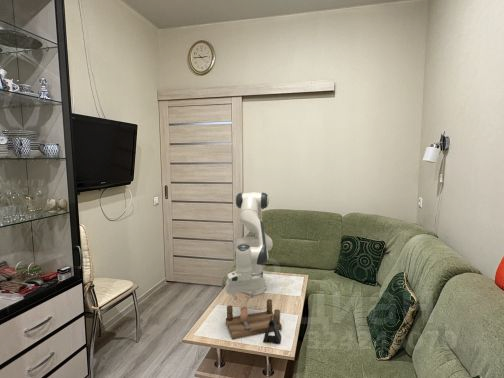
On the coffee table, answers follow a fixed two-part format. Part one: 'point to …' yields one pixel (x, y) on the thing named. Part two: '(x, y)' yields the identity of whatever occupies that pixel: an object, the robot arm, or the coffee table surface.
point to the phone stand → (277, 337)
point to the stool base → (252, 322)
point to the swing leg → (244, 317)
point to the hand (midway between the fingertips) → (243, 298)
